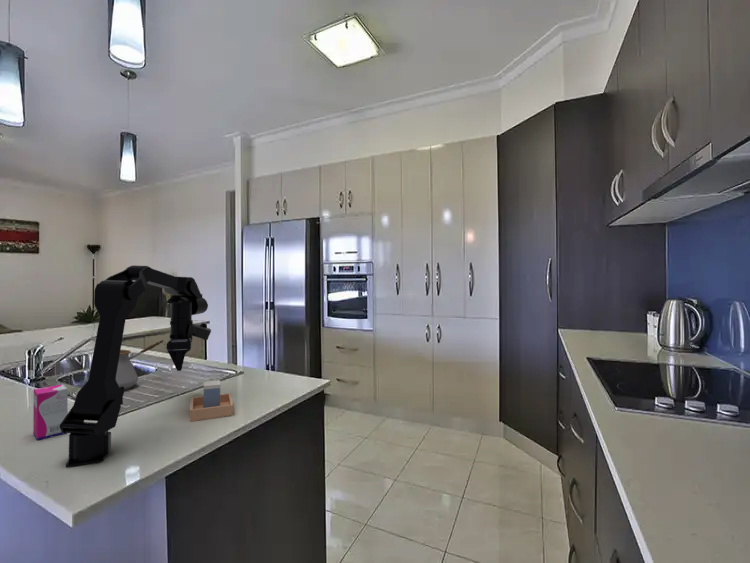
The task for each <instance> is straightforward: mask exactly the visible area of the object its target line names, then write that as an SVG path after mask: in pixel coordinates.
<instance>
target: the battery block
mask: <svg viewBox="0 0 750 563" xmlns="http://www.w3.org/2000/svg"><path fill="white" fill-rule="evenodd" d="M202 392H203V408H208V407H216V406H220V394H221V379H220V380H219V379H218V380H209V381H207V380H206V381H203V391H202Z"/></svg>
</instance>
